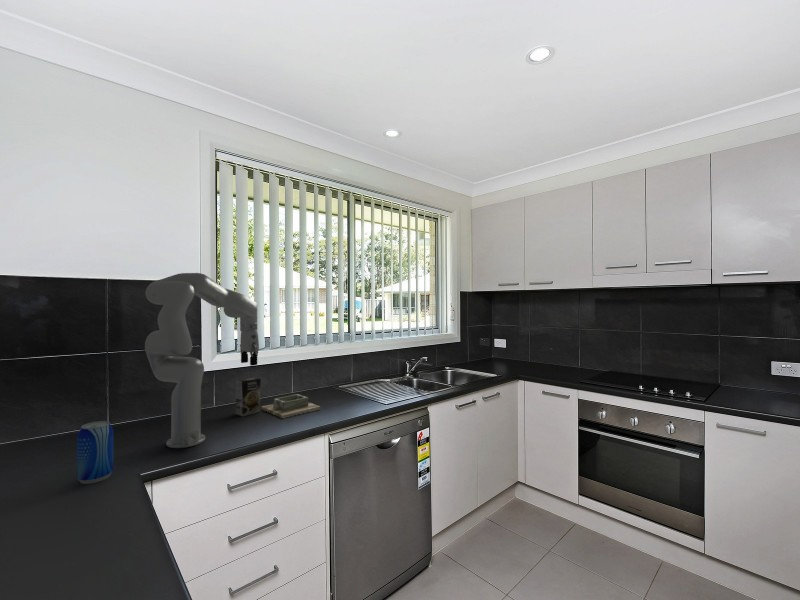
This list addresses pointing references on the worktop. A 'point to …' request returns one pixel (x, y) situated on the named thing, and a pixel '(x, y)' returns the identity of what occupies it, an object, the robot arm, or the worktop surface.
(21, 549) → the worktop surface
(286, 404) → the collar board
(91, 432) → the beer can
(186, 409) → the robot arm
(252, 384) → the coffee box
